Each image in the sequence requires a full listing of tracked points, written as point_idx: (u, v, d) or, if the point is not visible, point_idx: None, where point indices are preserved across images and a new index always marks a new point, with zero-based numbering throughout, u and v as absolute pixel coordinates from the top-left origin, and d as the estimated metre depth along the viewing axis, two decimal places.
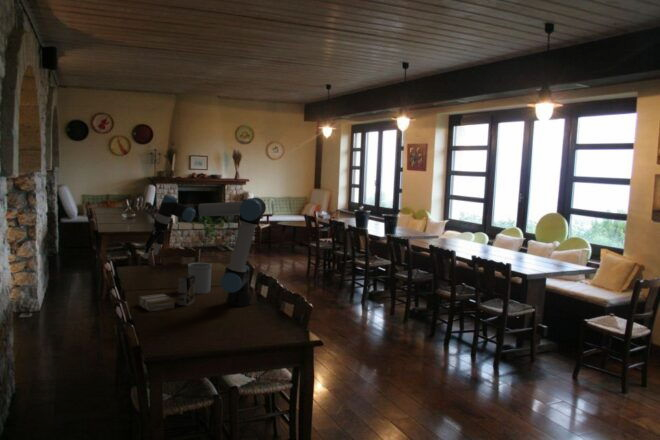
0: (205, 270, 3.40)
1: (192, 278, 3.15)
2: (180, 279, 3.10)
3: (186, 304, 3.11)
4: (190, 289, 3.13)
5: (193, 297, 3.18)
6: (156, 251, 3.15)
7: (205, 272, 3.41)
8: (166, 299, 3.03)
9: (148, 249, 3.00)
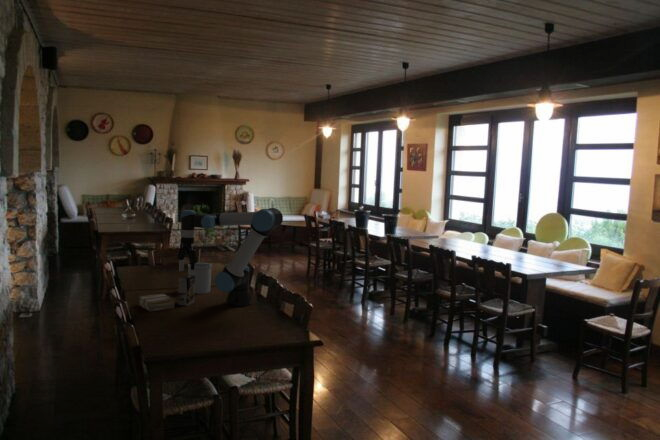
0: (205, 270, 3.40)
1: (192, 278, 3.15)
2: (180, 279, 3.10)
3: (186, 304, 3.11)
4: (190, 289, 3.13)
5: (193, 297, 3.18)
6: (182, 267, 3.19)
7: (205, 272, 3.41)
8: (166, 299, 3.03)
9: None
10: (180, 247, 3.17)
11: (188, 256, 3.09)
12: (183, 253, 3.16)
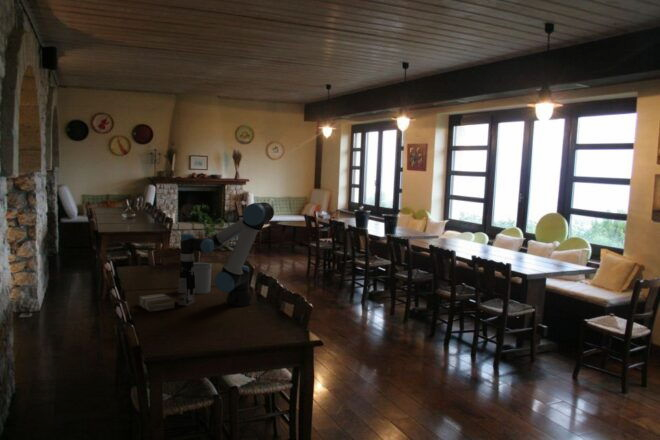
0: (205, 270, 3.40)
1: None
2: (180, 279, 3.10)
3: (186, 304, 3.11)
4: None
5: (193, 297, 3.17)
6: None
7: (205, 272, 3.41)
8: (166, 299, 3.03)
9: (192, 290, 3.10)
10: (180, 271, 3.18)
11: None
12: None
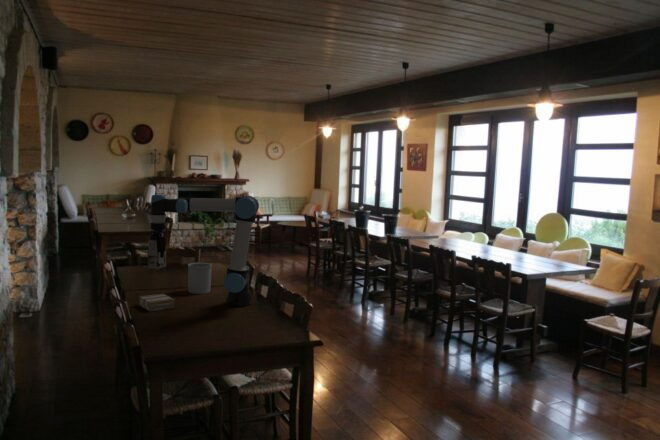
0: (205, 270, 3.40)
1: None
2: (150, 241, 2.99)
3: (156, 267, 2.99)
4: None
5: (164, 261, 3.06)
6: None
7: (205, 272, 3.41)
8: (166, 299, 3.03)
9: (163, 253, 2.99)
10: (151, 234, 3.06)
11: None
12: None
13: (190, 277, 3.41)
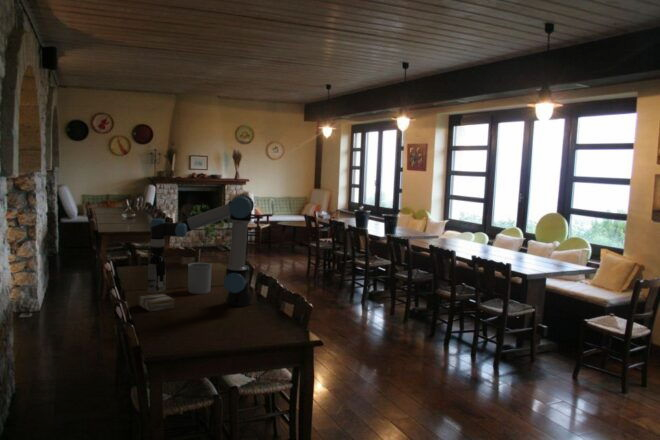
0: (205, 270, 3.40)
1: None
2: (150, 265, 3.00)
3: (156, 291, 3.01)
4: None
5: (164, 284, 3.07)
6: None
7: (205, 272, 3.41)
8: (166, 299, 3.03)
9: (162, 277, 3.00)
10: (151, 258, 3.08)
11: None
12: None
13: (190, 277, 3.41)
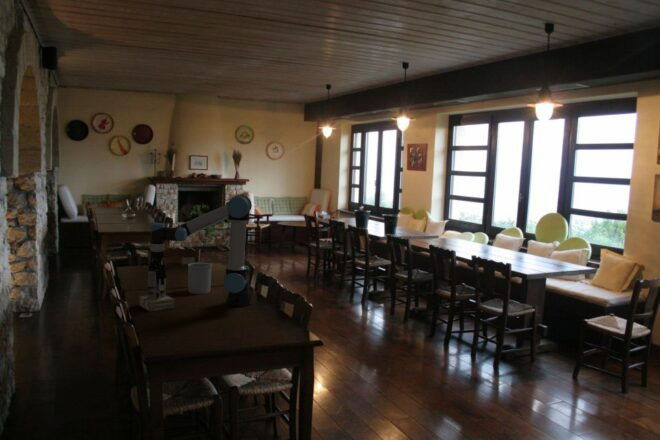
0: (205, 270, 3.40)
1: None
2: (150, 272, 3.01)
3: (156, 298, 3.01)
4: None
5: (164, 291, 3.08)
6: None
7: (205, 272, 3.41)
8: (166, 299, 3.03)
9: None
10: (150, 261, 3.08)
11: (158, 271, 3.00)
12: (153, 267, 3.07)
13: (190, 277, 3.41)
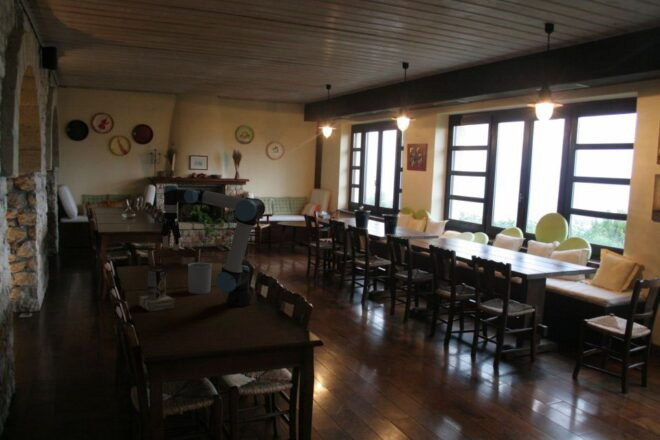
0: (205, 270, 3.40)
1: (162, 272, 3.05)
2: (150, 272, 3.01)
3: (156, 298, 3.01)
4: (160, 283, 3.03)
5: (164, 291, 3.08)
6: (166, 243, 3.19)
7: (205, 272, 3.41)
8: (166, 299, 3.03)
9: (178, 240, 3.08)
10: (163, 223, 3.17)
11: (172, 231, 3.09)
12: (167, 229, 3.16)
13: (190, 277, 3.41)
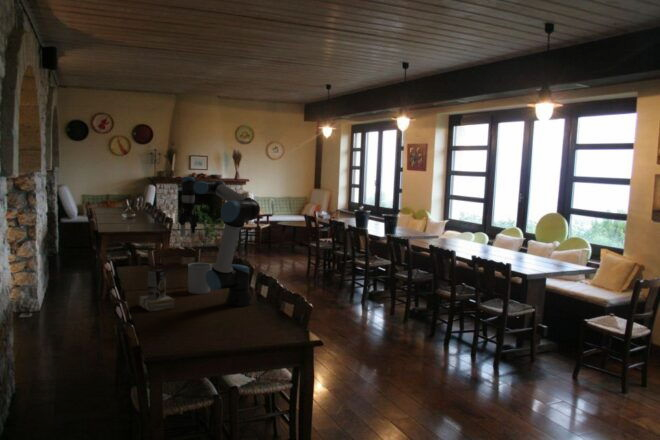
0: (205, 270, 3.40)
1: (162, 271, 3.05)
2: (150, 272, 3.01)
3: (156, 298, 3.01)
4: (160, 283, 3.03)
5: (164, 291, 3.08)
6: (183, 232, 3.35)
7: (205, 272, 3.41)
8: (166, 299, 3.03)
9: (194, 229, 3.24)
10: (181, 212, 3.33)
11: (189, 220, 3.25)
12: (184, 218, 3.32)
13: (190, 277, 3.41)
